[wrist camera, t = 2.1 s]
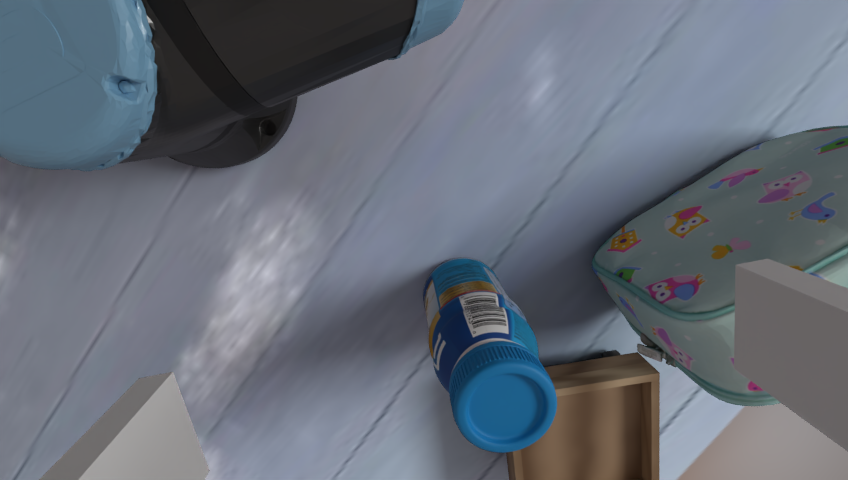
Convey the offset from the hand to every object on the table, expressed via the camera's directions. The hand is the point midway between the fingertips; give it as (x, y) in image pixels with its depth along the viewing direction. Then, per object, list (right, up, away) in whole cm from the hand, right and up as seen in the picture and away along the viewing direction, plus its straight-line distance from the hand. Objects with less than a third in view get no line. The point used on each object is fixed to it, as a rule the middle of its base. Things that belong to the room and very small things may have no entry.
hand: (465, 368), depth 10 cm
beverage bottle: (+3, -3, +37) cm, 37 cm away
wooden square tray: (+15, -16, +41) cm, 47 cm away
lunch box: (+27, +5, +37) cm, 46 cm away
